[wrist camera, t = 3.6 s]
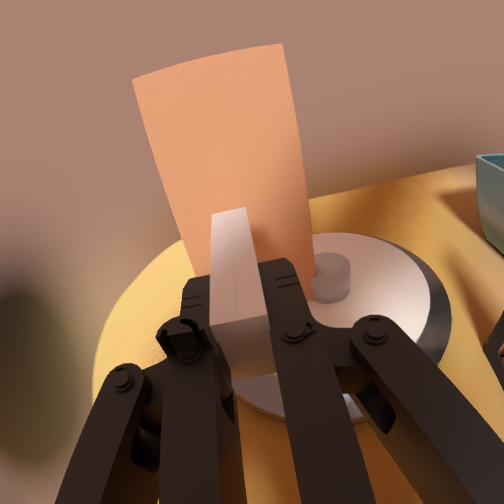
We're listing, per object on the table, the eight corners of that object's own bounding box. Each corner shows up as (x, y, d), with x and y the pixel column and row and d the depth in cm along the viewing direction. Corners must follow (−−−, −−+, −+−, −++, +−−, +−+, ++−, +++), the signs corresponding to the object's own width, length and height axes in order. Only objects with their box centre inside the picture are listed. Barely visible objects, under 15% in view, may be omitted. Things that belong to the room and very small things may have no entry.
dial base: (488, 316, 17) (504, 277, 15) (282, 485, 12) (271, 470, 10) (343, 223, 32) (341, 190, 30) (181, 297, 27) (166, 263, 25)
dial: (376, 228, 28) (363, 48, 18) (464, 341, 15) (514, 48, 6) (216, 264, 28) (162, 79, 19) (221, 413, 15) (68, 84, 6)
